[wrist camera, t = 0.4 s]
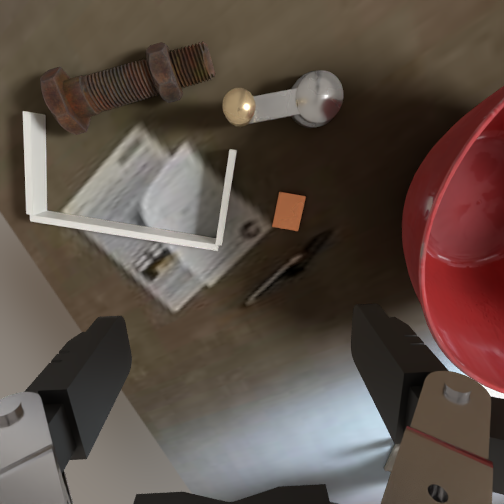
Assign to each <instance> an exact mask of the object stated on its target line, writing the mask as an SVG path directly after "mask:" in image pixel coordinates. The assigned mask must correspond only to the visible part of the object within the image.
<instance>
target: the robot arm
mask: <svg viewBox="0 0 504 504" xmlns="http://www.w3.org/2000/svg"><path fill="white" fill-rule="evenodd" d="M351 351H352V357H353V360H354V362H355V365H356V367H357V369H358V371H359V373H360V375H361V377H362V379H363V381H364V383H365V385H366V387H367V389H368V391H369V393H370V395H371V397H372V399H373V401H374V403H375V405H376V407H377V409H378V411H379V413H380V415H381V417H382V419H383V421H384V423H385V425H386V427H387V429H388V431H389V434H390V436H391V438H392V440H393V442H394V444H400V447H399V450H398V453H397V456H396V459H395V462H394V465H393V468H392V471H391V474H390V477H389V480H388V483H387V486H386V489H385V492H384V495H383V498H382V501H381V504H492V492H495V493H499V494H503V495H504V399H501V398H495V397H491V396H490V395H489V393H488V392H487V390H486V389H485V388H484V387H483V386H482V385H480V384H479V383H478V382H476V381H475V380H473V379H471V378H469V377H467V376H465V375H462V374H459V373H456V372H451V371H448V370H447V368H446V367H445V366H444V365H443V364H442V363H441V362H440V361H439V359H438V358H437V357H436V356H435V355H434V354H433V353H432V351H431V350H430V349H429V348H428V347H427V346H426V345H424V342H423V341H422V340H421V339H420V338H419V337H417V334H416V333H415V332H414V331H413V330H412V329H411V328H410V326H409V325H407V324H406V323H404V322H402V321H401V320H399V319H397V318H396V317H388V315H387V314H386V313H385V312H384V310H383V309H382V308H381V307H380V305H379V304H360V305H355V306H354V309H353V320H352V335H351ZM131 361H132V356H131V350H130V345H129V339H128V334H127V329H126V324H125V320H124V318H123V317H122V316H106V317H98V318H97V319H96V320H95V321H94V323H93V324H92V325H91V326H90V327H89V329H88V330H87V331H86V332H82V333H80V334H79V335H77V336H76V337H74V338H73V339H71V340H70V341H68V342H67V343H66V344H65V346H64V347H63V348H62V349H61V350H60V351H59V354H57V355H56V356H55V357H54V358H53V360H52V361H51V363H49V364H48V365H47V366H46V368H45V369H44V370H43V371H42V372H41V373H40V374H39V376H38V377H37V378H36V379H35V380H34V381H33V382H32V384H31V385H30V386H29V387H28V388H27V389H26V391H25V392H22V393H16V394H13V395H10V396H7V397H5V398H3V399H1V400H0V504H73V501H72V497H71V493H70V490H69V486H68V482H67V478H66V475H65V472H64V469H65V467H66V465H67V463H68V461H69V460H77V459H87V457H88V455H89V453H90V451H91V449H92V447H93V445H94V443H95V441H96V439H97V437H98V435H99V433H100V431H101V429H102V427H103V425H104V423H105V420H106V419H107V417H108V414H109V413H110V411H111V408H112V407H113V404H114V402H115V400H116V398H117V396H118V394H119V392H120V390H121V388H122V386H123V384H124V382H125V380H126V378H127V376H128V374H129V372H130V368H131ZM134 504H337V503H333V502H330V501H329V497H328V493H327V489H326V484H320V485H301V486H282V487H277V488H274V489H271V490H268V491H265V492H262V493H259V494H256V495H253V496H250V497H247V498H244V499H241V500H238V501H234V502H225V501H221V500H216V499H212V498H208V497H203V496H199V495H195V494H190V493H186V492H170V493H153V494H152V493H151V494H137V495H136V497H135V501H134Z"/></svg>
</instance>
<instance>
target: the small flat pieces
mask: <svg viewBox="0 0 504 504" xmlns="http://www.w3.org/2000/svg"><path fill="white" fill-rule="evenodd" d="M312 72H314V71H312ZM312 72H308V73H306V74H304V75H303V76H301V77H300V78H299V79H298V80H297V81H296V83H295V84H294V85H293V86H292V88H291V89H296V88H297V86H298V84H299V83H300V82H301V81H302V80H303V78H304V77H305V76H307V75H308V74H310V73H312ZM291 117H292V119H293V120H294V121H295V122H296V123H297V124H299V125H300V126H303V127H306V128H315V127H320V126H323V125H325V124H327V123H328V122H330V121H331V120H332V119H333V118H334V117H335V116H334V117H333V118H331V119H330V120H328V121H326V122H322V123H317V124H313V123H308V122H306V121H304V120H303V119H302V118H300V116H299V115H295V116H291ZM305 198H306V196H302V195H297V194H291V193H285V192H280V191H279V194H278V199H277V204H276V209H275V214H274V219H273V224H272V227H276V228H282V229H288V230H294V231H298V229H299V225H300V220H301V216H302V212H303V207H304V203H305Z"/></svg>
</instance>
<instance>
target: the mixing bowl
mask: <svg viewBox="0 0 504 504" xmlns="http://www.w3.org/2000/svg"><path fill="white" fill-rule="evenodd" d="M402 243H403V250H404V256H405V260H406V265H407V269H408V273H409V276H410V279H411V282H412V285H413V288H414V290H415V293H416V295H417V297H418V299H419V302H420V304H421V306H422V309H423V312H424V316H425V319H426V322H427V325H428V327H429V329H430V332H431V334H432V336H433V338H434V340H435V341H436V343H437V345H438V346H439V348H440V349H441V350H442V352H443V353H444V354H445V356H446V357H447V358H448V359H449V360H450V361H451V362H452V363H453V364H454V365H455V366H456V367H457V368H458V369H460V370H461V371H462V372H463V373H465V374H466V375H467V376H469V377H470V378H472V379H473V380H475V381H477V382H479V383H480V384H482V385H484V386H486V387H489V388H491V389H493V390H496V391H498V392H501V393H504V86H503V87H502V88H500V89H499V90H498V91H496V92H495V93H493V94H492V95H491V96H489V97H488V98H486V99H485V100H484V101H482V102H481V103H480V104H478V105H477V106H476V107H475V108H473V109H472V110H471V111H469V112H468V113H467V114H466V115H464V116H463V117H462V118H461V119H460V120H459V121H458V122H456V123H455V124H454V125H453V126H452V127H451V128H450V129H449V130H448V131H447V133H446V134H445V135H444V136H443V137H442V138H441V139H440V140H439V141H438V142H437V143H436V144H435V145H434V146H433V148H432V149H431V150H430V152H429V153H428V154H427V156H426V157H425V159H424V160H423V162H422V163H421V165H420V166H419V168H418V170H417V171H416V173H415V175H414V177H413V180H412V182H411V184H410V187H409V189H408V192H407V195H406V199H405V204H404V209H403V217H402Z"/></svg>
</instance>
